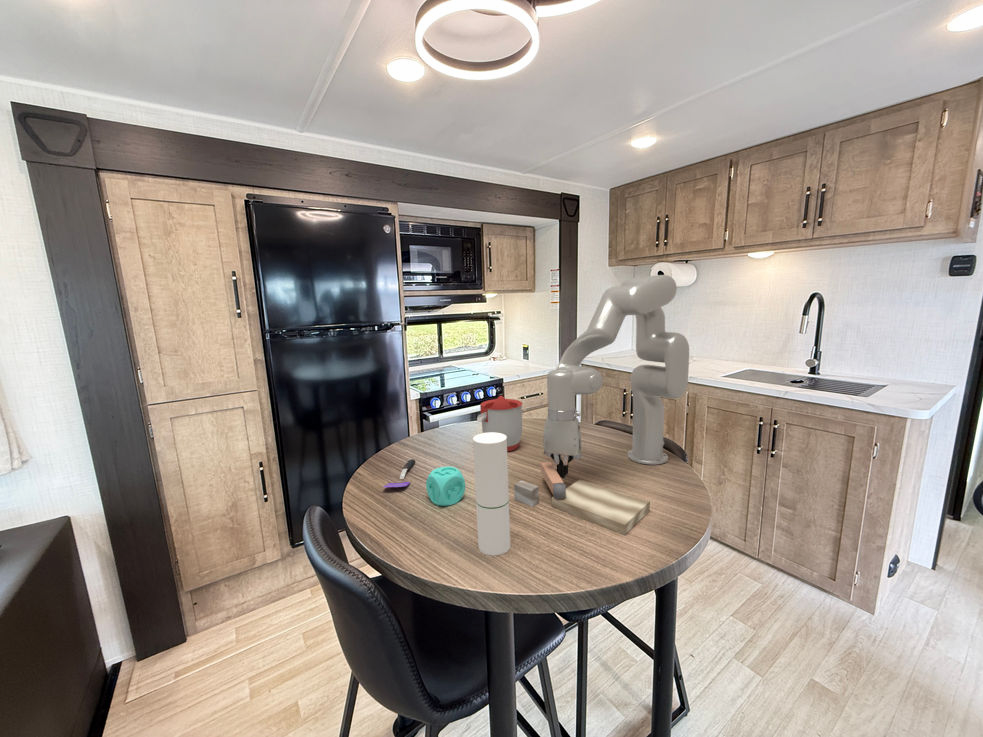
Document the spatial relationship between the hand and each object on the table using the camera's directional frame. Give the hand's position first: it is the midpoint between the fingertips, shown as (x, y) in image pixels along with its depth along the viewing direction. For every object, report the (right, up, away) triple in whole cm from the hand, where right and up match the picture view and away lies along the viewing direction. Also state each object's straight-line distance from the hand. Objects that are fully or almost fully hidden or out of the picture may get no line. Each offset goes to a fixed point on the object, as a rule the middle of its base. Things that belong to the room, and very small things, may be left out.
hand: (562, 476), depth 111 cm
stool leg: (-3, -2, -3) cm, 4 cm away
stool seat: (+3, -5, -9) cm, 11 cm away
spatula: (-48, -4, +14) cm, 51 cm away
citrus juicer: (-17, +1, +35) cm, 39 cm away
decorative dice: (-33, -6, -3) cm, 33 cm away
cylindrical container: (-20, -9, -25) cm, 33 cm away
